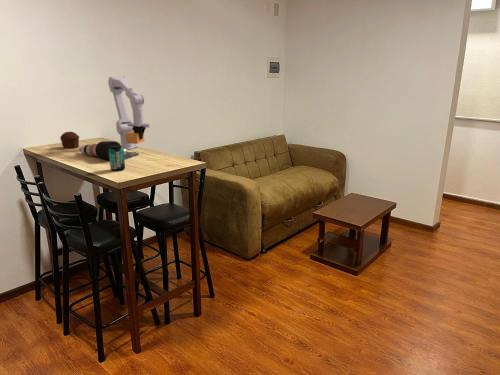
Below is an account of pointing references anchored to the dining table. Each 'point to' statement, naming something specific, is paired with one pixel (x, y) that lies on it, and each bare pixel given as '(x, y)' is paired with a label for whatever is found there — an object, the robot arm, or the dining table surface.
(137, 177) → the dining table surface
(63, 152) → the dining table surface
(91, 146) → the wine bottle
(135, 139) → the orange hollow block
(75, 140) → the muffin
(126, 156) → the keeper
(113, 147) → the beverage can
